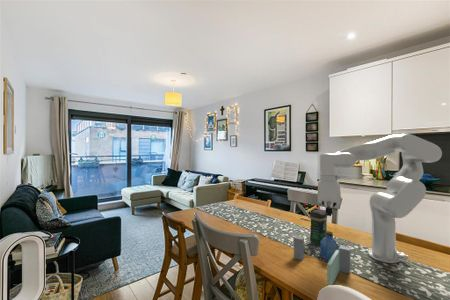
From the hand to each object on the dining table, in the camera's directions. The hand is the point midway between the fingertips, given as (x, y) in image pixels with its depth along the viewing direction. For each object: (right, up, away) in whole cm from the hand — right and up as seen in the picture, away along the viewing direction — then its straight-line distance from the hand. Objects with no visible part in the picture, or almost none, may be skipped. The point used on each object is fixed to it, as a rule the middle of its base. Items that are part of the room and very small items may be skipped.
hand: (329, 215), depth 108 cm
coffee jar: (+2, -21, +17) cm, 27 cm away
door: (-7, -21, -18) cm, 28 cm away
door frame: (-7, -21, -6) cm, 23 cm away
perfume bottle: (+1, -21, +1) cm, 21 cm away
